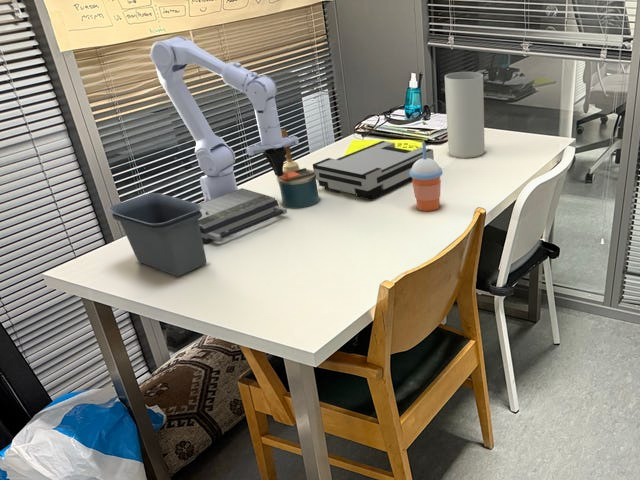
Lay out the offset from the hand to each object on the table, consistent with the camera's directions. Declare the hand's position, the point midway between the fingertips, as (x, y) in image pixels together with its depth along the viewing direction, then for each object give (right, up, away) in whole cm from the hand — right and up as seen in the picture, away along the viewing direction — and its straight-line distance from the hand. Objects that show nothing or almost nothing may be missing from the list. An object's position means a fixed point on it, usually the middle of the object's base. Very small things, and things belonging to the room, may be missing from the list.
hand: (279, 175), depth 184 cm
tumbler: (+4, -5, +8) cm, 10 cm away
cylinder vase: (+52, +20, +42) cm, 70 cm away
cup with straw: (+42, -9, +2) cm, 43 cm away
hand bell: (-2, +5, +23) cm, 24 cm away
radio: (-12, -15, -5) cm, 19 cm away
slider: (+2, 0, +2) cm, 3 cm away
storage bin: (-18, -28, -24) cm, 41 cm away
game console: (+24, +4, +21) cm, 32 cm away
